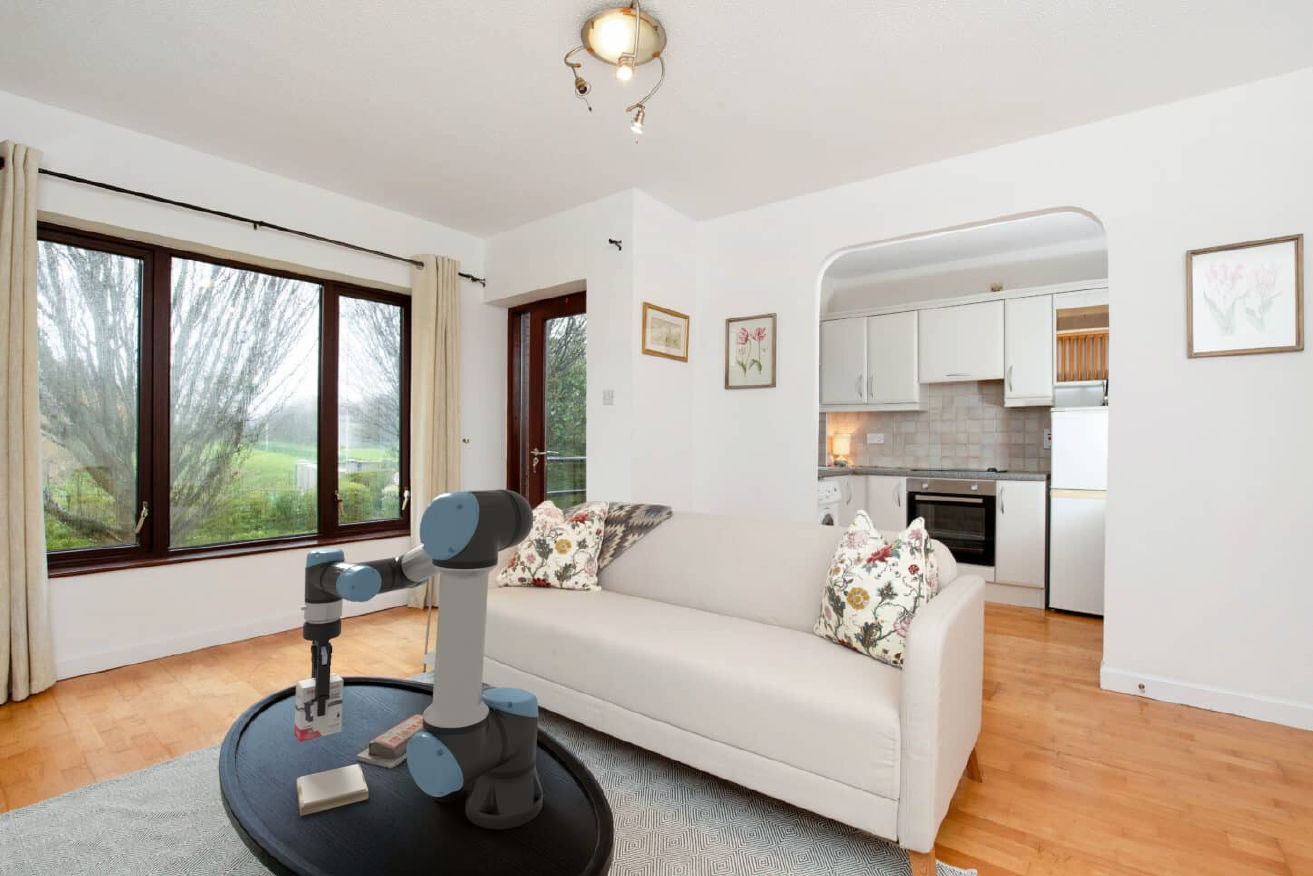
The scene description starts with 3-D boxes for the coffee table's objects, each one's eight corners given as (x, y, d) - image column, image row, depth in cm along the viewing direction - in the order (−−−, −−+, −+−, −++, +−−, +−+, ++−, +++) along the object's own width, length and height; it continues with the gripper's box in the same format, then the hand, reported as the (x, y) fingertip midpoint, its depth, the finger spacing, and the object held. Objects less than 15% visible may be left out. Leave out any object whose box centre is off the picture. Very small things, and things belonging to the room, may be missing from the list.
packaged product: (410, 709, 159) (443, 717, 156) (409, 729, 159) (442, 736, 156) (356, 741, 141) (393, 749, 138) (355, 762, 141) (391, 771, 138)
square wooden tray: (368, 798, 127) (368, 789, 127) (300, 816, 120) (301, 805, 120) (359, 771, 137) (359, 762, 137) (296, 786, 130) (297, 776, 130)
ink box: (299, 743, 133) (302, 687, 134) (293, 735, 137) (295, 681, 137) (342, 731, 139) (344, 678, 139) (335, 724, 143) (337, 672, 143)
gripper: (300, 611, 144) (296, 712, 144) (306, 632, 129) (302, 745, 128) (336, 607, 148) (332, 705, 148) (347, 627, 133) (342, 736, 132)
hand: (318, 723), depth 138 cm, fingers closed on ink box, 5 cm apart
